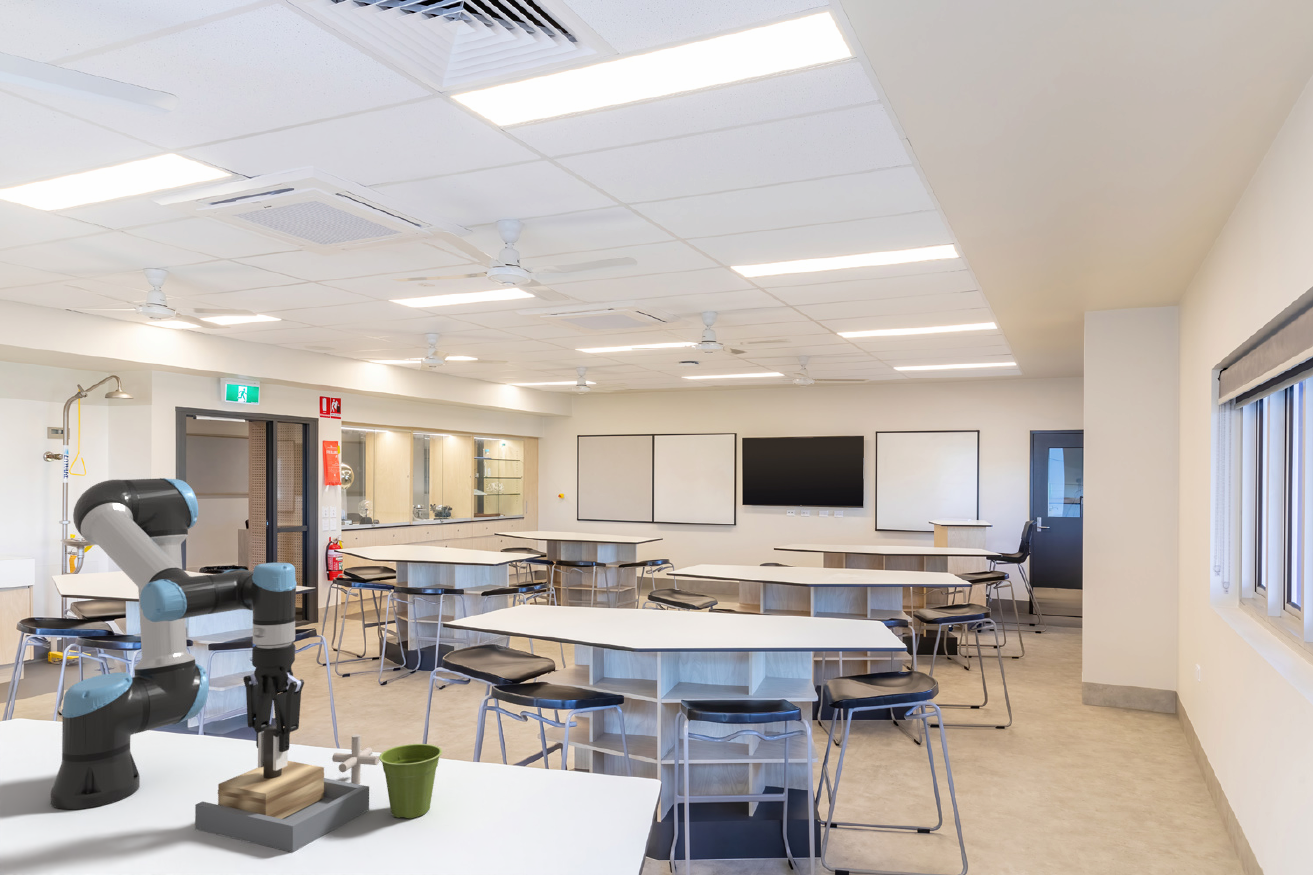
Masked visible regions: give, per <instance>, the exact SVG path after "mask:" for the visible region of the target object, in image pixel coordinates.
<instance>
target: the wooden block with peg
mask: <svg viewBox="0 0 1313 875" xmlns="http://www.w3.org/2000/svg"><path fill="white" fill-rule="evenodd" d="M275 733H277V729H276V725H272V726H270V727H266V728H265V729H264V765H263V767H261V768H259V767H258V766H257V767H256V768H254V769H251V770H249V771H246V772H244V773H241V774H239V775H237V776H234V777H232V778H230V779H226V780H224V781H221V782H219V783H218V784H217V785H218V786H217V787H218V790H217V795H218V796H217V797H218V798H217V805H221V806H226V807H230V808H235V809H239V810H244V811H248V812H253V813H257V814H262V815H267V816H271V817H276V818H280V819H283V818H285V817H287V816H289V815H291V814H293V813H295V812H297V811H299V810H301V809H303V808H305V807H307V806H309V805H311V804H313V803H315V802H317V801H319V800H321V799H323V798H324V778H325V767H324V766H318V765H313V764H308V763H302V762H296V761H291V760H287V766H286V767H283V768H281V769H279V770H276V771H275V770H273V736H274V734H275Z"/></svg>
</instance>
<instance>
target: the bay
mask: <svg viewBox="0 0 1313 875" xmlns="http://www.w3.org/2000/svg"><path fill="white" fill-rule="evenodd" d="M194 808H195V809H194V811H195V814H194V818H195V820H194V821H195V822H194V829H195V830H198V831H200V832H205V833H210V834H215V835H219V836H223V837H227V838H231V839H236V840H239V841H240V840H241V841H244V842H247V843H248V842H249V843H251V844H252V843H253V844H256V845H260V846H265V847H269V848H272V849H276V850H282V851H285V850H286V852H289V853H294V852H296V851H297V850H300V849H301V848H304V846H306V845H308V844H310V843H312V842H314V841H315V840H318V839H319V838H321V837H323V836H325V835H327V834H328V833H330V832H332V831H334V830H335V829H337V828H339V827H341V826H343V825H344V824H346V823H348V822H350V821H351V820H354V819H355V818H357V817H359V816H361V815H363V814H364V813H366V812H368V811H369V810H370V786H369V785H364V784H353V783H351V782H346V781H342V780H337V779H332V778H326V777H324V798H323V799H321V800H319V801H317V802H315V803H313V804H311V805H309V806H307V807H305V808H303V809H301V810H299V811H297V812H295V813H293V814H291V815H289V816H287V817H285V818H283V819H280V818H276V817H271V816H267V815H262V814H257V813H253V812H248V811H244V810H239V809H235V808H230V807H226V806H221V805H218V803H212V802H206V801H201V802H198V803H196V804H195V807H194ZM367 810H368V811H367ZM358 815H359V816H358ZM356 816H357V817H356Z"/></svg>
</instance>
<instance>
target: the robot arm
mask: <svg viewBox="0 0 1313 875" xmlns="http://www.w3.org/2000/svg"><path fill="white" fill-rule="evenodd" d="M72 515H73V516H72V517H73V523H74V526H75V529H76V530H77V532H78V534H79V535H80V536H81V537H82V538H83V539H84V540H85V541H86V542H87V543H89V544H92V545H94V546H95V545H97V546H98V547H100V548H101V549H102V551H103V552H104V553H105V554H106V555H107V556H108V557H109V558H110V559H111V560H112V561H113V562H114V563H115V564H116V566H118V567H119V568H120V569H121V570H122V572H123V573H125V575H126V576H127V577H128V578H129V579H130V580H131V581H132V583H133V584H135V586H136V587H137V589H138V592H137V593H138V606H139V607H138V608H139V609H138V610H139V626H140V629H139V630H140V647H141V648H140V649H141V659H140V660H139V661H138V662H137V663H136V665H135V666H134V667H133V668H134V669H133V672H134V677H132V675H131V674H130V673H128V672H123V671H121V672H112V673H108V674H106V673H104V674H99V675H96V676H92V677H89V678H86V679H84V680H81V681H79V682H77V683H75V684H73V685H72V686H70V687H69V688H68V689H67V690H66V691H65V693H64V695H63V702H62V703H63V704H62V708H61V709H62V710H61V716H62V725H61V726H62V729H61V730H62V736H61V739H62V740H61V743H62V746H61V748H62V749H61V750H62V751H61V758H62V759H61V764H60V767H59V769H58V772H57V774H56V777H55V780H54V783H53V787H52V788H51V790H50V805H51V806H52V807H54V808H57V809H62V810H80V809H87V808H89V809H90V808H95V807H100V806H105V805H108V804H111V803H114V802H117V801H120V800H121V801H122V800H123V799H126V798H127V797H129V796H131V795H134V794H135V793H137V791H138V790H139V789H140V779H141V778H140V772H139V770H138V768H137V766H136V763H135V760H134V757H133V755H132V752H131V737H132V735H136V734H139V733H143V732H147V731H151V730H154V729H158V728H161V727H165V726H169V725H177V724H180V723H182V722H184V721H187V720H191V719H193V718H195V717H196V716H198V715H199V714H200V713H201V712H202V710H203V708H204V707H205V706H206V703H207V699H208V696H209V690H210V687H209V686H210V683H209V677H208V674H207V671H206V669H205V668H204V666H202V665H201V664H197V663H196V657H195V656H194V655H192V654H191V653H190V652H189V651H188V647H187V644H188V643H187V631H186V630H187V628H186V619H188V618H189V619H190V618H193V617H200V616H204V615H205V616H206V615H212V614H214V615H215V614H219V613H225V612H231V611H237V610H238V611H239V610H247V611H252V644H253V645H254V646H253V648H252V649H251V650H252V652H251V664H252V666H253V667H254V673H251V674H248V675H244V676H243V680H242V681H243V682H244V687H245V695H246V716H247V717H246V718H247V721H246V722H247V727H248V728H249V729H250V728H253V729H254V731H255V734H256V737H255V738H256V740H255V742H256V744H255V745H256V748H257V768H258V767H259V768H261V767H263V765H264V729H265V728H266V727H270V726H273V724H271V714H272V706H273V709H274V710H273V711H274V718H275V726H276V729H277V733H275V734H274V736H273V770H275V771H276V770H279V769H281V768H283V767H286V766H287V761H288V751H289V749H290V740H291V739H290V735H291V733H292V732H295V731H297V730H299V728H300V727H299V725H300V716H301V715H300V714H301V701H302V700H301V699H302V690H303V688H304V685H305V681H304V679H301V678H300V679H297V678H296V677H294V672H293V670H292V666H293V664H294V662H295V660H296V645H295V644H294V641H295V640H296V605H297V604H296V602H297V601H296V600H297V598H296V596H297V584H298V583H297V580H296V567H295V565H293V564H292V563H289V562H266V563H260V564H257V565H256V566H254V567H253V570H250V569H249V570H248V569H245V568H239V569H228V570H225V571H224V572H221V573H213V574H204V575H196V576H195V575H194V576H190V575H189V574H188V573H187V572H186V571H185V570H183V559H182V558H183V557H182V543H183V542H184V541H185V540H186V539H187V538H188V537H189V532H188V531H189V530H190V529H192V528H193V527H194V526H195V524H196V523H197V521H198V517H199V504H198V499H197V497H196V494H195V492H194V489H192V487H191V486H190V485H189V484H188V483H187V482H185V480H182V479H178V478H177V479H176V478H164V477H163V478H161V477H160V478H141V479H140V478H139V479H109V480H104V481H101V482H98V483H96V484H94V485H92V486H90V487H89V488H88V489H86V491H84V492H82V494H81V495H80V497H79V498H78V499H77V501H76V503H75V506H74V507H73V513H72Z"/></svg>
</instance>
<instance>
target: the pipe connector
mask: <svg viewBox="0 0 1313 875" xmlns="http://www.w3.org/2000/svg"><path fill="white" fill-rule="evenodd" d="M361 736H362V735H361V734H359V733H355V734H352V735H351V753H342V752H334V753H333V755H332V757H331V759H332V762H334V763H340V764H339V765H338V771H339V772H340V773H345V772H347V771H348V770H350V769H351V772H350V773H351V775H350V776H351V777H350V778H351V780H350V783H353V784H359V785H361V771H362V770H361V766H362V765H368V766H378V765H379V763H380V759H379V756H380V755H378V756H377V755H372V754H373V749H372V747H370V746H367V747H365V748H364V749H362V747H361V746H362V745H361V744H362V737H361Z"/></svg>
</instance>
